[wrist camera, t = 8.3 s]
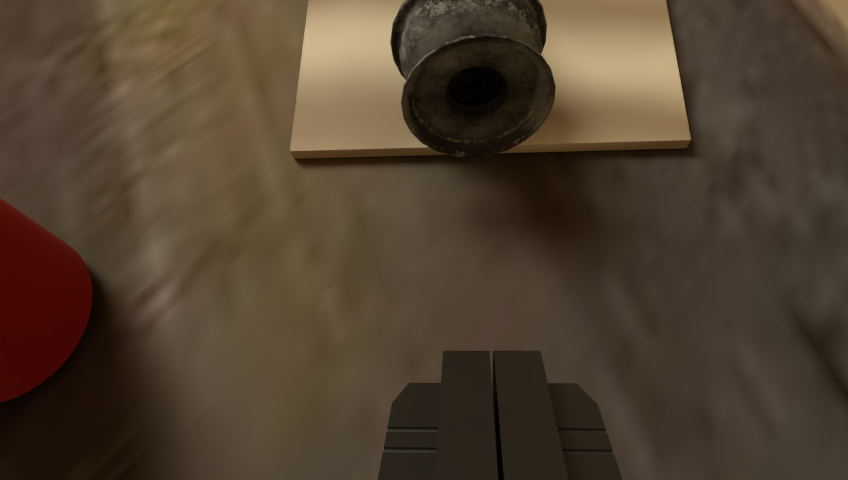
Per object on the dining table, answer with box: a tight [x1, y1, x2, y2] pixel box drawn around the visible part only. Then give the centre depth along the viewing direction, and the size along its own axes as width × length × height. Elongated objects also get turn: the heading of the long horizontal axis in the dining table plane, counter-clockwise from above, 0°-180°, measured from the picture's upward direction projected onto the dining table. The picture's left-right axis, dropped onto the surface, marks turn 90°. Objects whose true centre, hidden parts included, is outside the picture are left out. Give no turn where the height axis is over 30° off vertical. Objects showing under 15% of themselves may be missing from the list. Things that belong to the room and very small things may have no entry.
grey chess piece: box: [390, 0, 556, 158], centre depth 25 cm, size 6×6×12 cm
